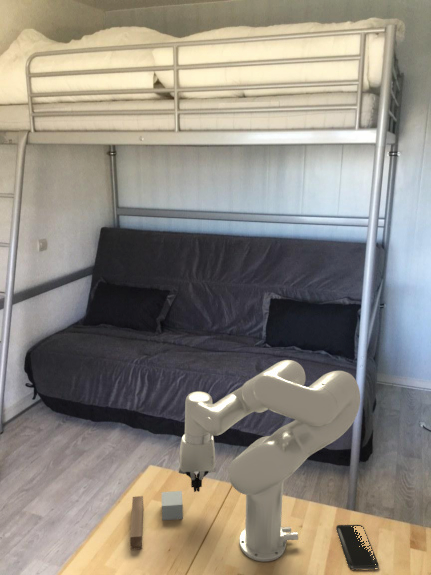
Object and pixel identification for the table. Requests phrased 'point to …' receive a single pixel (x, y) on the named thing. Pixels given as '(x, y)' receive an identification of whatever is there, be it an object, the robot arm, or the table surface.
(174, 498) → the block
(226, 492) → the table surface
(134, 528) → the brown wooden bar
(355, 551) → the phone
